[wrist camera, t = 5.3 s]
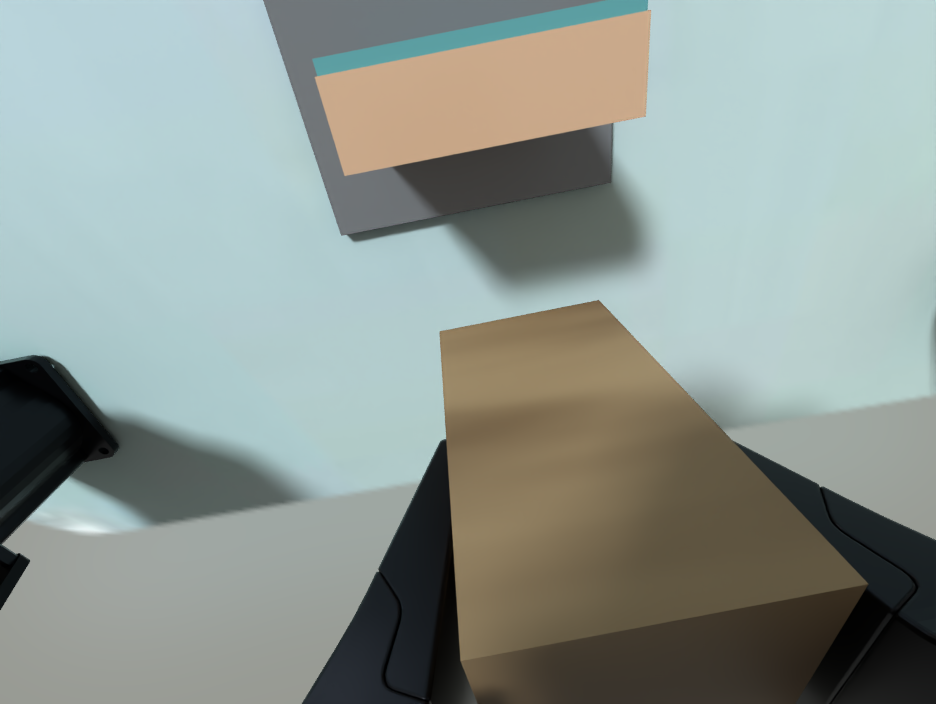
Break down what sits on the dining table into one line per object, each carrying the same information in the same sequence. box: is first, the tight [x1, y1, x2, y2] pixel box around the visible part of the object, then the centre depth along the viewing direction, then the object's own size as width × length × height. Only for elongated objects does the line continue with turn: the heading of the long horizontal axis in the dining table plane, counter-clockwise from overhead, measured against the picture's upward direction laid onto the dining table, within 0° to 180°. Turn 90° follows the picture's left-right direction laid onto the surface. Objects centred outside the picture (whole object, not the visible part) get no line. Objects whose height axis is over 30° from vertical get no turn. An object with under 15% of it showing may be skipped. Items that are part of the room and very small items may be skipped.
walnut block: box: [440, 300, 868, 704], centre depth 8 cm, size 4×4×7 cm
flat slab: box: [312, 0, 651, 176], centre depth 12 cm, size 2×7×8 cm, turn 100°
